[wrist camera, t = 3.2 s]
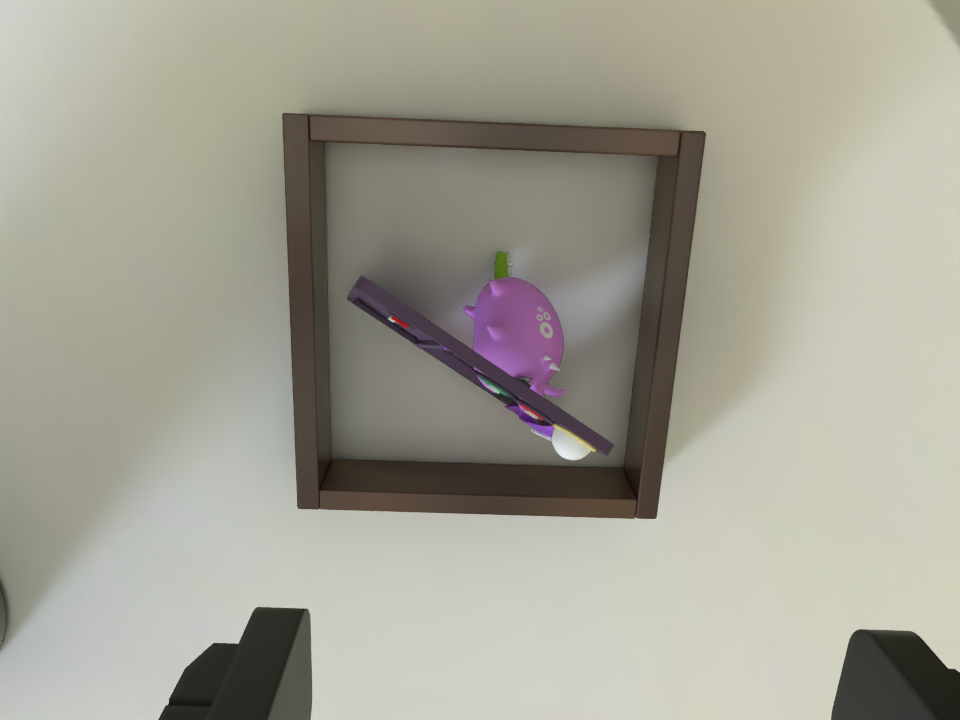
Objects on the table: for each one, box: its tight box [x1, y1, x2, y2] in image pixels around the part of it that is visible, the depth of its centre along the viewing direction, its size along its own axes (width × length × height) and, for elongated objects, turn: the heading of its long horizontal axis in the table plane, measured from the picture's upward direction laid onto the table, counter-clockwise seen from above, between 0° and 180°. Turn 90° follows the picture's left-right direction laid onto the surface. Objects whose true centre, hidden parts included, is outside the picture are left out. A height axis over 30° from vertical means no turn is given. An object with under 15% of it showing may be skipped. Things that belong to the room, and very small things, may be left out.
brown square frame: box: [282, 113, 706, 519], centre depth 26 cm, size 13×14×3 cm
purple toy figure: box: [347, 252, 614, 460], centre depth 25 cm, size 7×5×9 cm
